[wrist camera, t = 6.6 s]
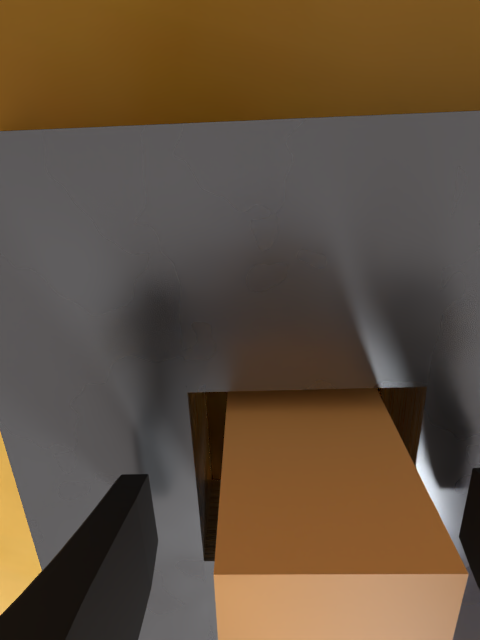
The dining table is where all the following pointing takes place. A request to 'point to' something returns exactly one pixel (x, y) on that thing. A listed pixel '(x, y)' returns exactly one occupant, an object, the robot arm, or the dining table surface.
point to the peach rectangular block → (328, 525)
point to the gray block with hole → (231, 312)
